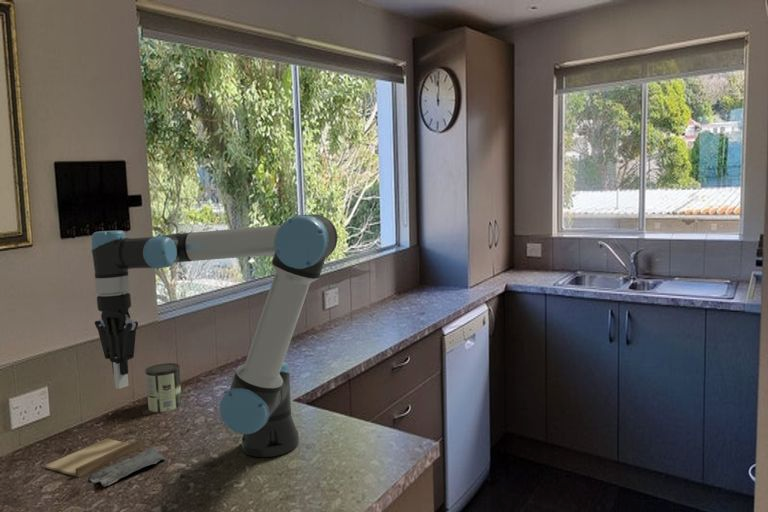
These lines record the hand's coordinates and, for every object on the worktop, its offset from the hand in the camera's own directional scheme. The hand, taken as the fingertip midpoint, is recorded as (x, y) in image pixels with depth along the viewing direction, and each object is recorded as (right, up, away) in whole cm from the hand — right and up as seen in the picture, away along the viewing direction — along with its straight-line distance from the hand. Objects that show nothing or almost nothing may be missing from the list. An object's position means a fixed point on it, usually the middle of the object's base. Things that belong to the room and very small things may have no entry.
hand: (121, 386), depth 143 cm
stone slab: (-2, -20, +3) cm, 20 cm away
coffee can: (-5, -17, +41) cm, 45 cm away
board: (-11, -20, +7) cm, 24 cm away
